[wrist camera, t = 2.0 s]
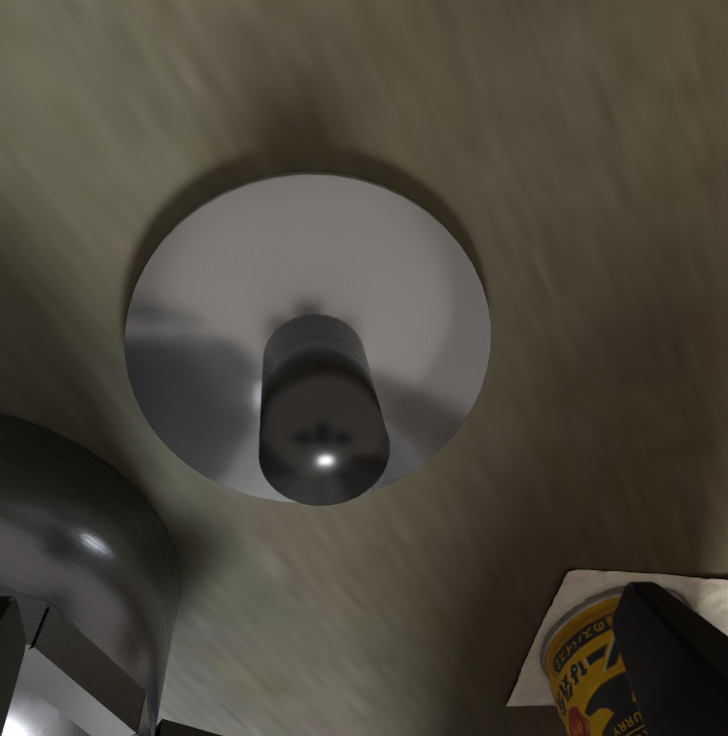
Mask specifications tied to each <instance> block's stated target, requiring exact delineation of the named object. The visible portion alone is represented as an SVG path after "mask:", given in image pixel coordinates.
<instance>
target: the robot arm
mask: <svg viewBox="0 0 728 736" xmlns="http://www.w3.org/2000/svg"><path fill="white" fill-rule="evenodd" d="M612 630H613V634H614V637H615V640H616V643H617V646H618V649H619V652H620V655H621V658H622V661H623V664H624V667H625V670H626V673H627V676H628V679H629V682H630V685H631V688H632V691H633V694H634V697H635V700H636V703H637V706H638V709H639V712H640V715H641V718H642V721H643V724H644V726H645V729H646V732H647V734H648V736H728V636H727V635H726V634H725V633H723V632H722V631H720V630H719V629H718V628H716V627H715V626H714V625H712V624H711V623H710V622H708V621H707V620H706V619H704V618H703V617H702V616H700V615H699V614H698V613H696V612H695V611H693V610H692V609H691V608H689V607H688V606H687V605H685V604H684V603H683V602H681V601H680V600H679V599H677V598H676V597H675V596H673V595H672V594H671V593H669V592H668V591H667V590H665V589H664V588H662V587H661V586H660V585H658V584H657V583H654V582H650V581H642V582H629V583H628V584H627V585H626V586H625V587H624V589H623V592H622V594H621V597H620V599H619V602H618V604H617V607H616V609H615V612H614V614H613V617H612ZM25 647H26V635H25V631H24V626H23V622H22V618H21V613H20V609H19V605H18V602H17V600H16V599H15V598H14V597H12V596H0V736H2V733H3V730H4V726H5V723H6V719H7V715H8V712H9V708H10V704H11V701H12V697H13V693H14V690H15V686H16V682H17V679H18V675H19V672H20V668H21V664H22V661H23V657H24V653H25Z"/></svg>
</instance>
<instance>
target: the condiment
mask: <svg viewBox="0 0 728 736" xmlns="http://www.w3.org/2000/svg"><path fill="white" fill-rule="evenodd" d="M642 581H650V582H654V583H657V584H658V585H660V586H661V587H662V588H664V589H665V590H667V591H668V592H669V593H671V594H672V595H673V596H675V597H676V598H677V599H679V600H680V601H681V602H683V603H684V604H685V605H687V606H688V607H689V608H691V609H692V610H693V611H695V612H696V611H699V615H700V616H704V617H705V619H706V620H707V621H708V622H710V623H711V624H712V625H714V626H715V627H716V628H718V629H719V630H720V631H722V632H723V633H725V634H726V635H727V636H728V580H722V579H702V578H691V577H682V576H677V575H667V574H644V573H635V572H633V573H629V572H620V571H607V572H603V571H598V570H574V571H571V572H570V571H568V573H567V575H566V576H565V578H564V580H563V583H562V585H561V587H560V589H559V591H558V594H557V595H556V596H555V598H554V601H553V604H552V606H551V607H550V608H549V610H548V612H547V615H546V616H545V618H544V620H543V623H542V625H541V627H540V629H539V631H538V633H537V635H536V637H535V640H534V642H533V645H532V647H531V649H530V651H529V654H528V656H527V658H526V660H525V663H524V665H523V667H522V670H521V673H520V675H519V678H518V682H517V684H516V686H515V688H514V691H513V693H512V695H511V697H510V699H509V701H508V703H507V705H506V706H538V705H553V706H556V707H557V709H558V713H559V716H560V717H561V719H562V720H563V722H564V724H565V727H566V731H567V734H568V736H648V734H647V732H646V729H645V726H644V724H643V721H642V718H641V715H640V712H639V709H638V706H637V703H636V700H635V697H634V694H633V691H632V688H631V685H630V682H629V679H628V676H627V673H626V670H625V667H624V664H623V661H622V658H621V655H620V652H619V649H618V646H617V643H616V640H615V637H614V634H613V630H612V617H613V614H614V612H615V609H616V607H617V604H618V602H619V599H620V597H621V594H622V592H623V589H624V587H625V586H626V585H627V584H628V583H629V582H642Z"/></svg>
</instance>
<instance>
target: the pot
mask: <svg viewBox="0 0 728 736" xmlns="http://www.w3.org/2000/svg"><path fill="white" fill-rule="evenodd" d="M179 593H180V573H179V566H178V560H177V556H176V553H175V550H174V547H173V544H172V541H171V538H170V536H169V534H168V532H167V530H166V529H165V527H164V525H163V523H162V521H161V519H160V517H159V516H158V515H157V513H156V512H155V511H154V509H153V508H152V507H151V505H150V504H149V503H148V501H147V500H146V499H145V497H144V496H143V495H142V494H141V493H140V492H139V491H138V490H137V489H136V488H135V487H134V486H133V485H132V484H131V483H130V482H129V481H128V480H127V479H126V478H125V477H123V476H122V475H121V474H120V473H118V472H117V471H116V470H115V469H113V468H112V467H111V466H110V465H108V464H107V463H106V462H105V461H103V460H102V459H100V458H98V457H97V456H95V455H94V454H92V453H90V452H89V451H87V450H86V449H84V448H83V447H81V446H79V445H78V444H76V443H74V442H72V441H70V440H68V439H66V438H64V437H62V436H60V435H58V434H56V433H53V432H51V431H49V430H47V429H45V428H42V427H39V426H37V425H34V424H31V423H29V422H26V421H23V420H21V419H18V418H15V417H11V416H8V415H4V414H0V596H12V597H14V598H15V599H16V600H17V602H18V605H19V609H20V613H21V618H22V622H23V626H24V631H25V635H26V647H25V653H24V657H23V661H22V664H21V668H20V672H19V675H18V679H17V682H16V686H15V690H14V693H13V697H12V701H11V704H10V708H9V712H8V715H7V719H6V723H5V726H4V730H3V733H2V736H222V735H218V734H214V733H211V732H207V731H204V730H200V729H197V728H193V727H190V726H186V725H183V724H179V723H175V722H172V721H168V720H165V719H162V720H161V721H160V723H159V724H158V725H157V726H156V723H157V718H158V712H159V706H160V701H161V695H162V690H163V684H164V679H165V673H166V667H167V662H168V656H169V651H170V645H171V640H172V634H173V629H174V623H175V617H176V612H177V606H178V601H179Z"/></svg>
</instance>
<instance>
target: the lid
mask: <svg viewBox="0 0 728 736" xmlns="http://www.w3.org/2000/svg"><path fill="white" fill-rule="evenodd" d="M490 348H491V324H490V317H489V309H488V304H487V300H486V297H485V293H484V290H483V286H482V284H481V282H480V279H479V277H478V275H477V273H476V271H475V268H474V266H473V264H472V263H471V261H470V260H469V258H468V256H467V255H466V253H465V252H464V250H463V249H462V247H461V246H460V244H459V243H458V242H457V241H456V240H455V239H454V237H453V236H452V235H451V234H450V233H449V232H448V231H447V229H446V228H445V227H444V226H443V225H442V224H441V223H440V222H439V221H438V220H437V219H436V218H435V217H434V216H432V215H431V214H430V213H429V212H428V211H427V210H425V209H424V208H423V207H422V206H420V205H419V204H417V203H416V202H414V201H412V200H411V199H409V198H408V197H406V196H405V195H403V194H401V193H399V192H397V191H395V190H393V189H391V188H388V187H386V186H384V185H382V184H380V183H377V182H374V181H370V180H367V179H364V178H360V177H357V176H354V175H347V174H341V173H334V172H328V171H295V172H287V173H278V174H272V175H268V176H264V177H260V178H256V179H252V180H248V181H246V182H244V183H241V184H239V185H236V186H234V187H231V188H229V189H226V190H224V191H222V192H220V193H219V194H217V195H215V196H214V197H212V198H210V199H208V200H207V201H205V202H203V203H202V204H200V205H199V206H198V207H196V208H195V209H194V210H193V211H191V212H190V213H189V214H188V215H186V216H185V217H184V218H182V219H181V220H180V221H179V222H178V223H177V225H176V226H175V227H174V228H173V229H172V230H171V231H170V232H169V233H168V234H167V235H166V236H165V237H164V239H163V240H162V241H161V243H160V244H159V246H158V247H157V249H156V250H155V251H154V253H153V254H152V256H151V257H150V259H149V261H148V262H147V264H146V266H145V268H144V270H143V272H142V274H141V276H140V278H139V280H138V282H137V284H136V286H135V290H134V293H133V296H132V299H131V302H130V305H129V308H128V315H127V321H126V328H125V357H126V364H127V370H128V376H129V379H130V382H131V386H132V389H133V392H134V395H135V398H136V400H137V402H138V404H139V406H140V408H141V410H142V412H143V414H144V416H145V418H146V419H147V421H148V422H149V424H150V425H151V427H152V428H153V430H154V431H155V433H156V434H157V435H158V436H159V438H160V439H161V440H162V441H163V442H164V443H165V444H166V446H167V447H168V448H169V449H170V450H171V451H172V452H173V453H175V454H176V455H177V456H178V457H179V458H180V459H181V460H182V461H184V462H185V463H186V464H187V465H189V466H190V467H192V468H193V469H195V470H196V471H198V472H199V473H200V474H202V475H203V476H205V477H207V478H209V479H211V480H213V481H215V482H217V483H219V484H221V485H223V486H225V487H228V488H230V489H233V490H235V491H238V492H241V493H244V494H248V495H251V496H255V497H259V498H263V499H269V500H276V501H282V502H299V503H302V504H307V505H317V506H324V505H334V504H339V503H343V502H346V501H349V500H351V499H354V498H356V497H358V496H360V495H361V494H365V493H368V492H370V491H373V490H376V489H378V488H381V487H384V486H386V485H388V484H390V483H392V482H394V481H396V480H398V479H400V478H402V477H404V476H405V475H407V474H409V473H410V472H412V471H413V470H415V469H417V468H418V467H420V466H421V465H422V464H424V463H425V462H426V461H427V460H429V459H430V458H431V457H432V456H434V455H435V454H436V453H437V452H438V451H439V450H440V449H441V448H442V447H443V446H444V445H445V444H446V443H447V442H448V441H449V440H450V439H451V438H452V436H453V435H454V434H455V433H456V431H457V430H458V429H459V428H460V426H461V425H462V424H463V422H464V421H465V419H466V417H467V416H468V414H469V412H470V411H471V409H472V408H473V406H474V404H475V401H476V399H477V397H478V395H479V392H480V390H481V388H482V385H483V381H484V378H485V375H486V371H487V368H488V361H489V355H490Z"/></svg>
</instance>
